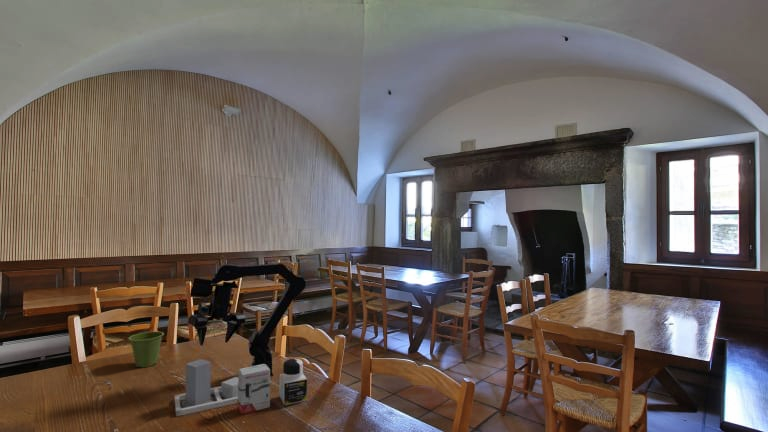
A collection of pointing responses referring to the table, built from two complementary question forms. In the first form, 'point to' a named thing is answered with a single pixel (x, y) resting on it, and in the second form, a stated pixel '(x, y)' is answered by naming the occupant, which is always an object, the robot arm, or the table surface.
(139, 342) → the plant pot
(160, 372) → the table surface
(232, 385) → the small box
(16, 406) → the table surface
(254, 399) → the ink box
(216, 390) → the frame
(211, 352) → the table surface
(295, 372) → the medicine bottle
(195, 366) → the block
